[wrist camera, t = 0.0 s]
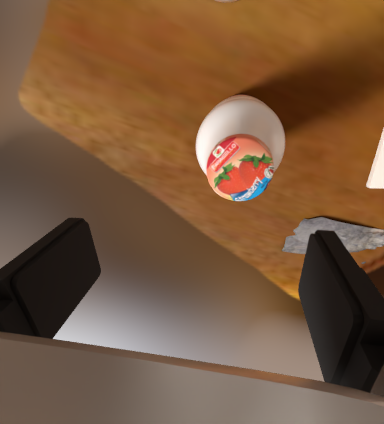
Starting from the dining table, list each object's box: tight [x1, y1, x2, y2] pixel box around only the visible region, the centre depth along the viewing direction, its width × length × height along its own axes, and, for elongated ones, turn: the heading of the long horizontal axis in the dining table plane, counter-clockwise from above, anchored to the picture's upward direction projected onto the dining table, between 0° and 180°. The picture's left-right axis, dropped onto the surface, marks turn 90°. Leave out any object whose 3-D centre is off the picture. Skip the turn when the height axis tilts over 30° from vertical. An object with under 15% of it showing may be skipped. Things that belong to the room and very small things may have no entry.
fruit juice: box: [196, 95, 285, 201], centre depth 29 cm, size 9×9×28 cm
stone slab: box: [282, 217, 384, 264], centre depth 48 cm, size 18×2×10 cm
